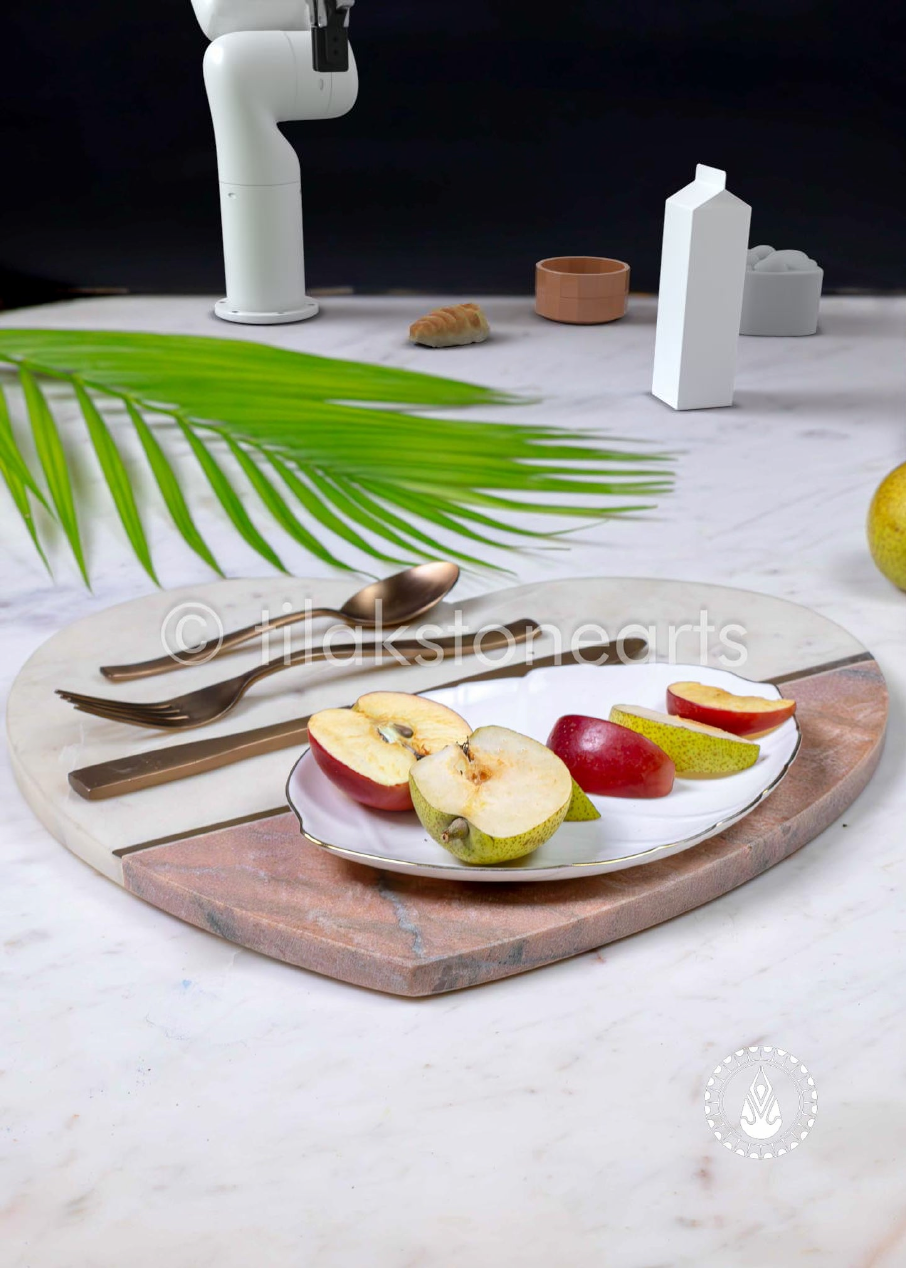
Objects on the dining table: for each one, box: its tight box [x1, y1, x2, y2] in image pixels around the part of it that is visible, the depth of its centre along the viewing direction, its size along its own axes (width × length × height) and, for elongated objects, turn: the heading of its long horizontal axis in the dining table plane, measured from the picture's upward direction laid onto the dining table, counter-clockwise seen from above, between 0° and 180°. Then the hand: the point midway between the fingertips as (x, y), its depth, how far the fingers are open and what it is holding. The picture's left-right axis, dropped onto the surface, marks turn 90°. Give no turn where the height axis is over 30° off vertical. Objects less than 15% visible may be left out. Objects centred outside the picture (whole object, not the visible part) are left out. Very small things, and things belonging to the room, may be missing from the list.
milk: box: [651, 163, 752, 411], centre depth 130 cm, size 6×6×22 cm
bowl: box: [533, 256, 631, 325], centre depth 166 cm, size 11×11×6 cm
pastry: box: [408, 302, 491, 348], centre depth 154 cm, size 9×7×4 cm
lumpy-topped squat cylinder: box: [739, 244, 824, 337], centre depth 161 cm, size 10×13×9 cm
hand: (330, 71), depth 133 cm, fingers closed
